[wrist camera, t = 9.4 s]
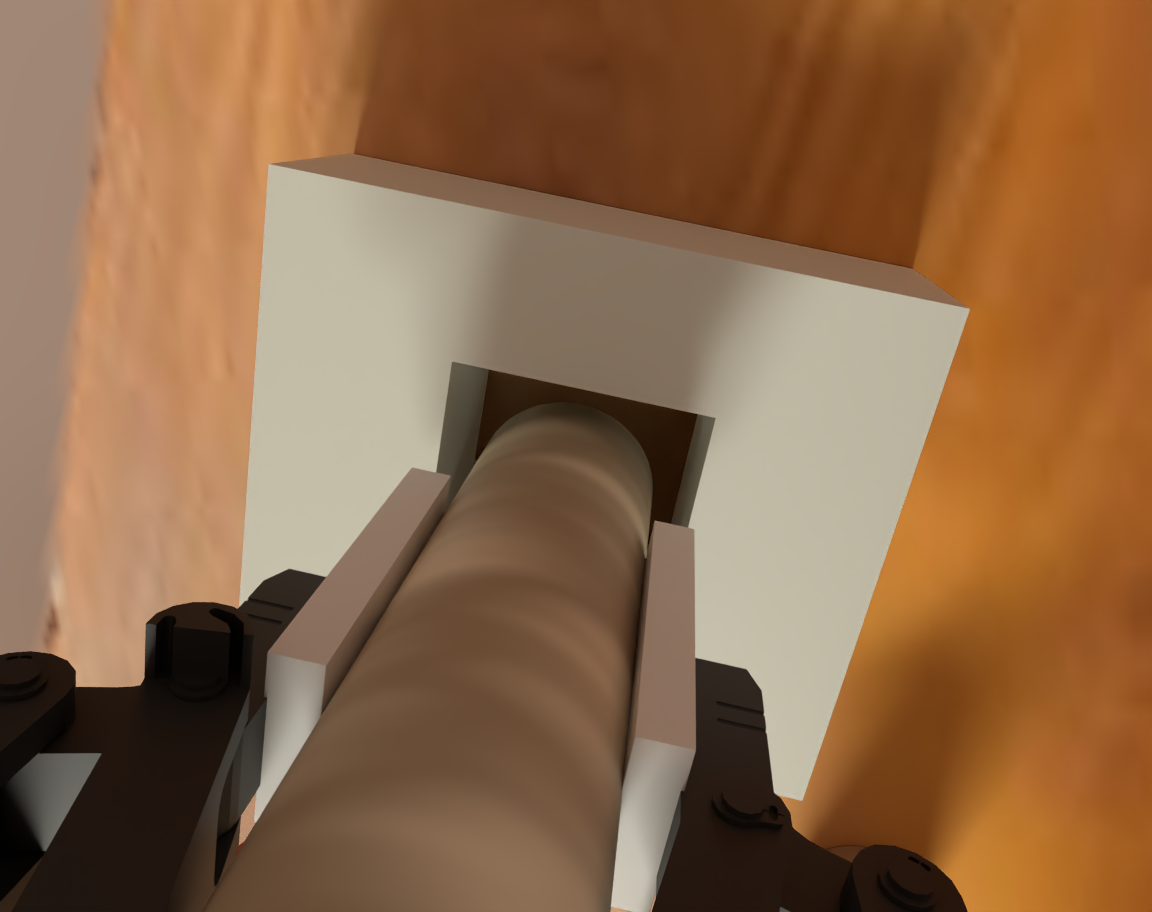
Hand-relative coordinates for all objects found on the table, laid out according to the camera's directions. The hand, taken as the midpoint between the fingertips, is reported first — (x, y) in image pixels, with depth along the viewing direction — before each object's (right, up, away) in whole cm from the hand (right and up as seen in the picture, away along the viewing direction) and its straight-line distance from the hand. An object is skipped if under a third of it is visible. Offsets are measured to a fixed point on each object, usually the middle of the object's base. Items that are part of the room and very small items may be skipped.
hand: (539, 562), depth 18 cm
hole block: (+1, +3, +7) cm, 8 cm away
